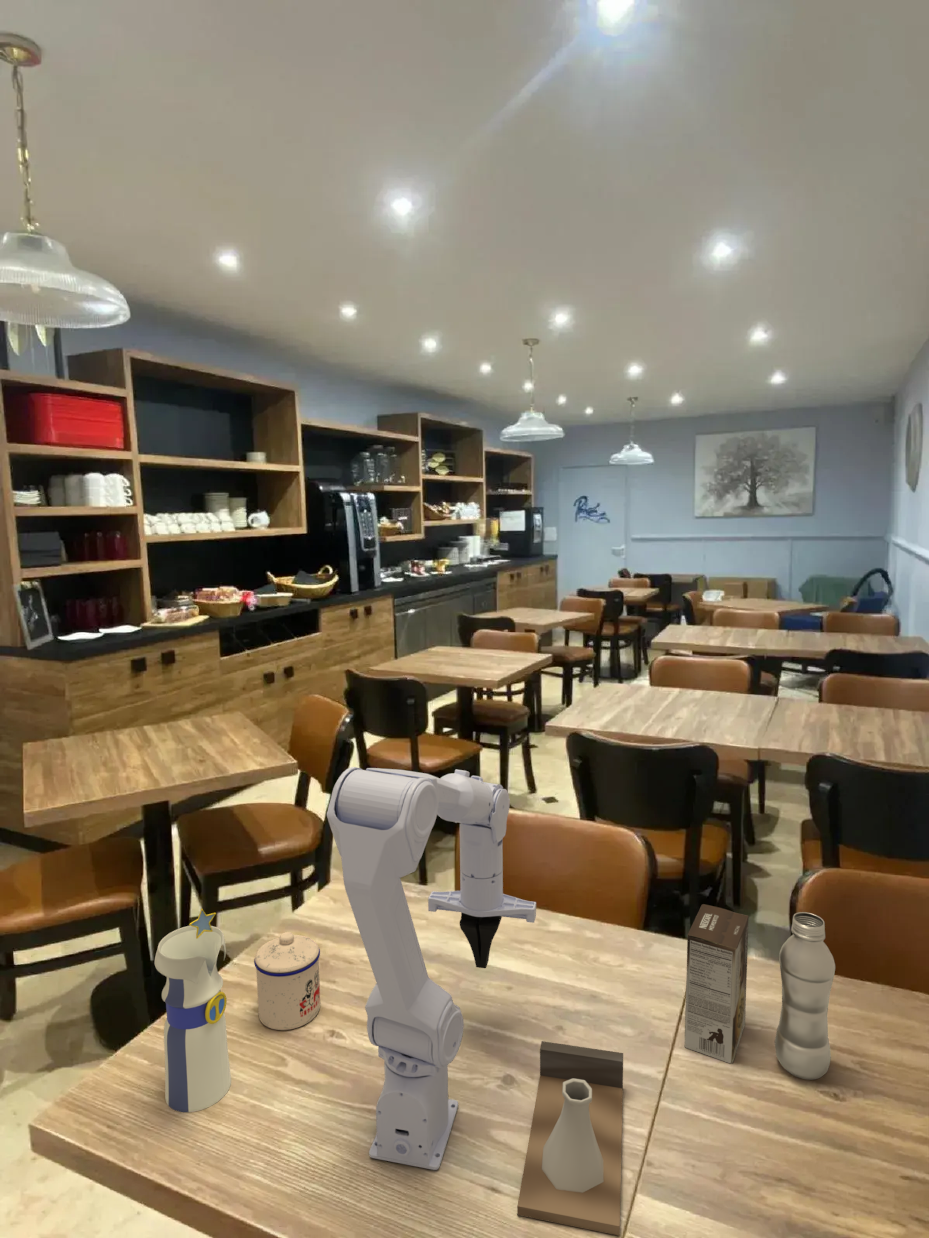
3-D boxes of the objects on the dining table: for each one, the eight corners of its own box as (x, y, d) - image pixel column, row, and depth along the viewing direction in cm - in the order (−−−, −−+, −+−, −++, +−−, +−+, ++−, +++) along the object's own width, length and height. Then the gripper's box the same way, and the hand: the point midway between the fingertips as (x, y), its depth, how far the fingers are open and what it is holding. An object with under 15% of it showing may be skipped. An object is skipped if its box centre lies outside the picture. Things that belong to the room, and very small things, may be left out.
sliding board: (619, 1235, 71) (620, 1193, 70) (517, 1214, 73) (517, 1174, 72) (622, 1086, 90) (623, 1052, 89) (541, 1073, 92) (541, 1040, 91)
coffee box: (698, 1008, 104) (701, 901, 102) (746, 1024, 101) (750, 913, 99) (682, 1047, 96) (685, 932, 94) (733, 1065, 93) (737, 947, 91)
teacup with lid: (313, 1033, 100) (309, 953, 99) (247, 1031, 100) (243, 952, 99) (333, 979, 112) (330, 908, 110) (274, 978, 112) (271, 907, 111)
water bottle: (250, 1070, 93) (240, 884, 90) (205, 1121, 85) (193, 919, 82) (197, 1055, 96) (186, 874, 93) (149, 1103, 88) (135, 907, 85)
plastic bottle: (823, 1054, 95) (831, 909, 92) (835, 1092, 88) (843, 937, 86) (770, 1045, 97) (776, 902, 94) (777, 1082, 90) (784, 930, 88)
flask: (548, 1208, 74) (552, 1121, 72) (531, 1146, 81) (535, 1066, 79) (617, 1200, 75) (623, 1114, 73) (594, 1140, 82) (599, 1060, 80)
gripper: (539, 860, 100) (539, 953, 102) (437, 851, 103) (438, 941, 105) (532, 884, 93) (532, 983, 95) (423, 874, 97) (424, 969, 98)
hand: (482, 963), depth 100 cm, fingers closed
